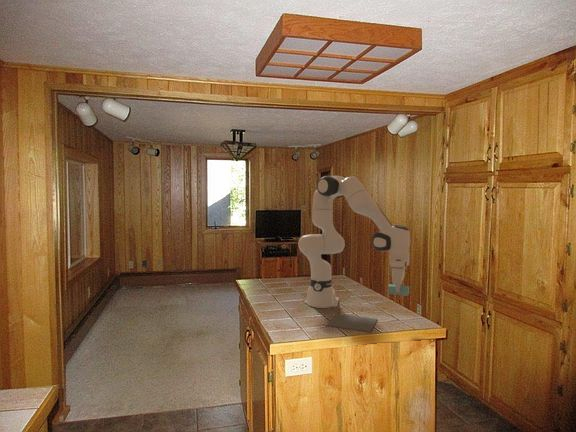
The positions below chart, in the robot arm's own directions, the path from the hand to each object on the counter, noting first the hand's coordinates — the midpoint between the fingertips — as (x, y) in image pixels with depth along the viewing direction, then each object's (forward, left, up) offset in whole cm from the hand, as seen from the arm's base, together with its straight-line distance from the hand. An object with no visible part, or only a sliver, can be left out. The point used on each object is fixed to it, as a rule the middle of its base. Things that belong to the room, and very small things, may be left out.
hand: (398, 290), depth 178 cm
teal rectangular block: (0, 0, -2) cm, 2 cm away
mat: (+5, -20, -17) cm, 27 cm away
